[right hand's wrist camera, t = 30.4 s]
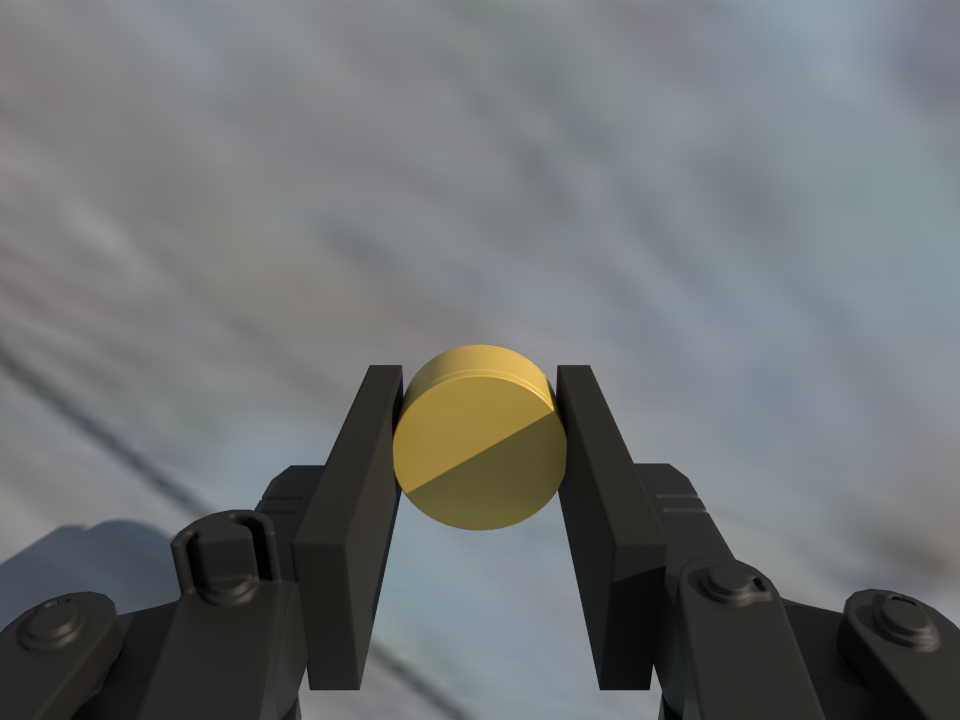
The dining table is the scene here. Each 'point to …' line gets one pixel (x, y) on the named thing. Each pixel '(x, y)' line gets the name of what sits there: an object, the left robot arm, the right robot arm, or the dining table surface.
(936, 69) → the dining table surface
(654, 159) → the dining table surface
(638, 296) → the dining table surface
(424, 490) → the cap
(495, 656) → the dining table surface
